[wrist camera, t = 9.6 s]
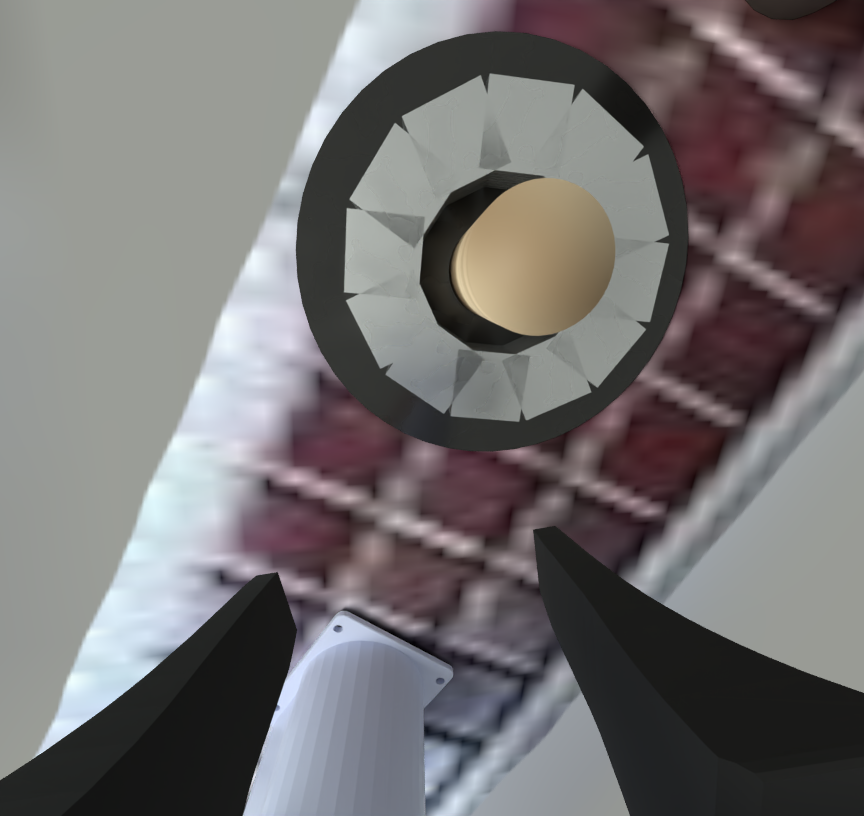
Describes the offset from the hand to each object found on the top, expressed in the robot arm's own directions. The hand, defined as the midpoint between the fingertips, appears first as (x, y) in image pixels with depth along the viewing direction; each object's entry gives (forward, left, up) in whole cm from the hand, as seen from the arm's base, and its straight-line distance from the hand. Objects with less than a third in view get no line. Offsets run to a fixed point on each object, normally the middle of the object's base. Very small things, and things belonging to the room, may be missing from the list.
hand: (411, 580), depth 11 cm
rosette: (+9, +2, -9) cm, 13 cm away
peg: (+9, +2, -9) cm, 13 cm away
